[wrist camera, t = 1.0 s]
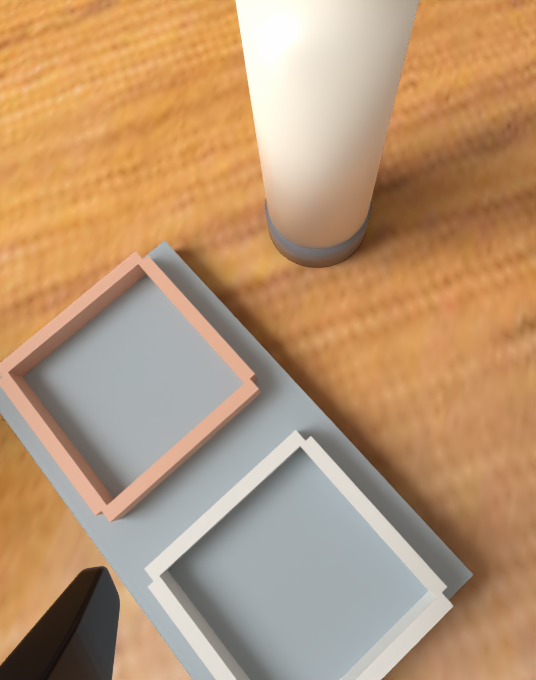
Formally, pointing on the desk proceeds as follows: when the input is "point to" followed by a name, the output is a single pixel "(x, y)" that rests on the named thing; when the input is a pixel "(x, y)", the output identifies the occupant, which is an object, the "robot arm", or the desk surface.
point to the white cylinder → (322, 114)
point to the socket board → (222, 486)
